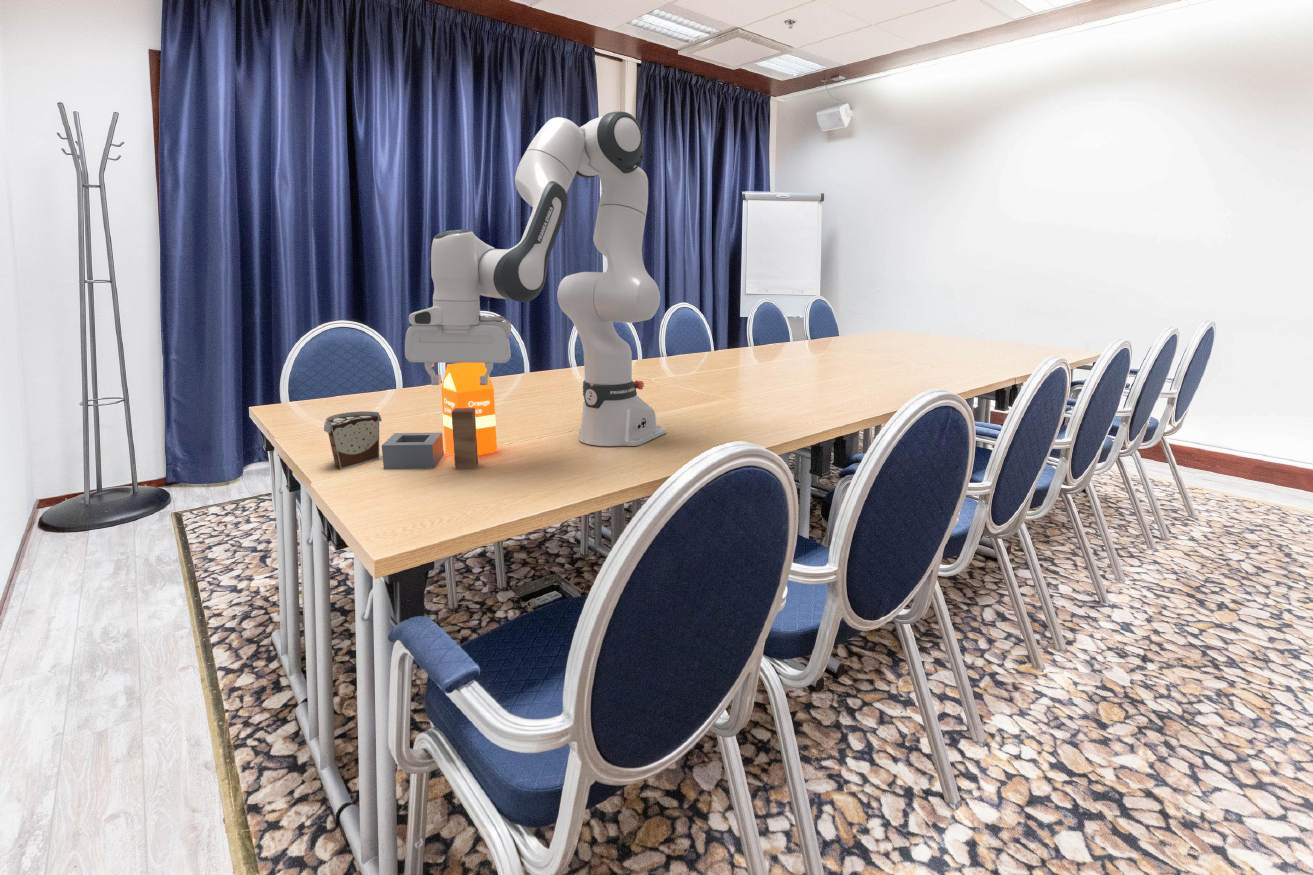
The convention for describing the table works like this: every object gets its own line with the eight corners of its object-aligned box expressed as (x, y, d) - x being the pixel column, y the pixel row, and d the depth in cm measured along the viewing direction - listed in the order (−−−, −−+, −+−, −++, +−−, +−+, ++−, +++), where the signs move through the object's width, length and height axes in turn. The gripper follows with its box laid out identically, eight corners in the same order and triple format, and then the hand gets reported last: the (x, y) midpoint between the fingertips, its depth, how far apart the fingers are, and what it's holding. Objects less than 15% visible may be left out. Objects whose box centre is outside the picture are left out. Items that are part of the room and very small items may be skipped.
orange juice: (445, 451, 154) (438, 362, 149) (481, 444, 160) (476, 358, 155) (460, 458, 149) (455, 366, 144) (497, 451, 154) (493, 362, 149)
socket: (396, 455, 151) (394, 433, 150) (443, 454, 152) (442, 432, 150) (383, 468, 141) (381, 445, 140) (433, 468, 142) (432, 444, 141)
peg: (458, 463, 145) (455, 407, 142) (478, 463, 146) (474, 407, 143) (455, 469, 142) (451, 412, 139) (475, 468, 142) (471, 411, 139)
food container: (366, 452, 153) (362, 408, 150) (385, 456, 150) (381, 411, 147) (315, 466, 142) (309, 419, 140) (334, 471, 139) (328, 423, 137)
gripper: (512, 315, 140) (514, 382, 143) (408, 313, 138) (412, 381, 141) (509, 317, 134) (510, 387, 137) (400, 315, 132) (404, 387, 135)
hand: (460, 384), depth 139 cm, fingers open, 8 cm apart
